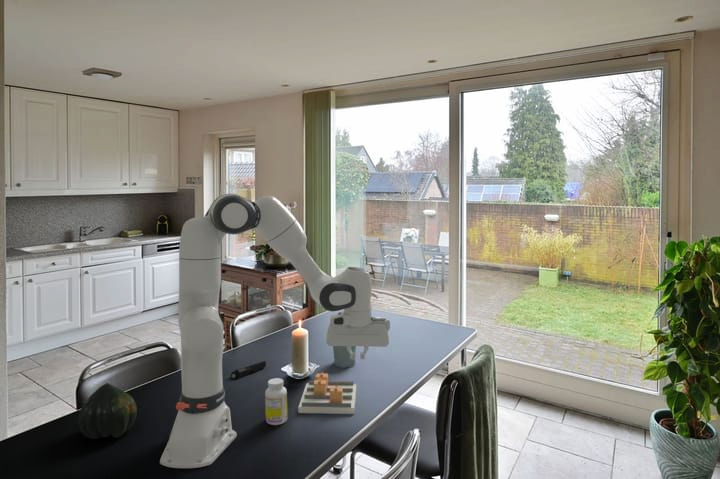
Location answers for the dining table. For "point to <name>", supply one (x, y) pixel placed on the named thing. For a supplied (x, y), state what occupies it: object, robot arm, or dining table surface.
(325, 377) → the tab
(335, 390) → the tab
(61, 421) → the dining table surface
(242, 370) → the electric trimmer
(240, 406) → the dining table surface
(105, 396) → the squash
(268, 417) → the supplement bottle
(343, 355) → the green cup
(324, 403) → the switch bank
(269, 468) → the dining table surface
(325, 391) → the tab
